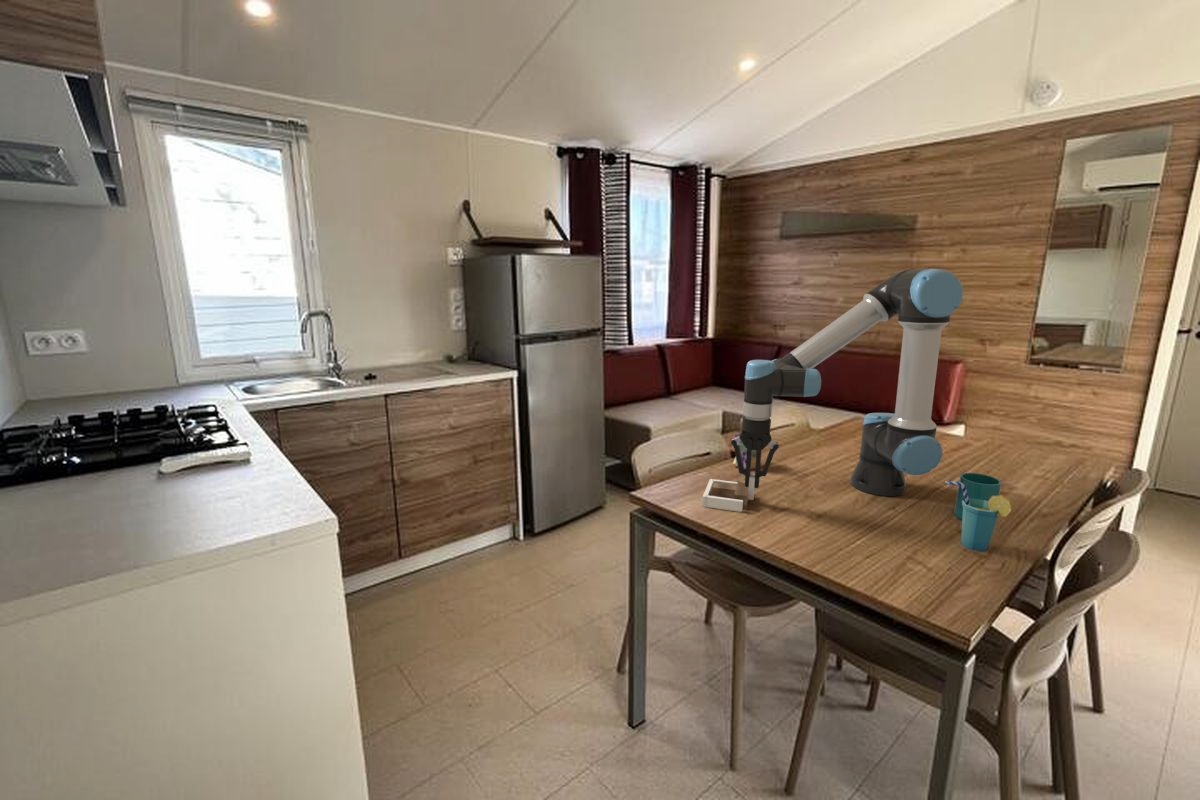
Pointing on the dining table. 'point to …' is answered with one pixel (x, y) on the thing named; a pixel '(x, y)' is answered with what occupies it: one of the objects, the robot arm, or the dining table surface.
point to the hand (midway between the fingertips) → (750, 497)
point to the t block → (732, 492)
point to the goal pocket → (720, 498)
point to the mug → (745, 455)
